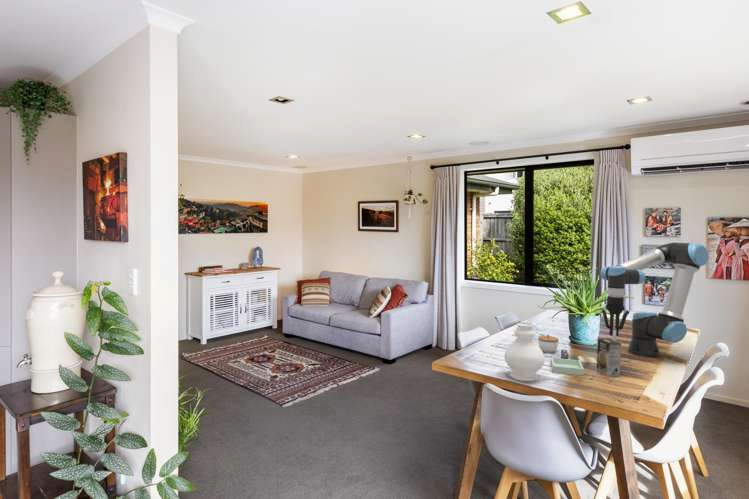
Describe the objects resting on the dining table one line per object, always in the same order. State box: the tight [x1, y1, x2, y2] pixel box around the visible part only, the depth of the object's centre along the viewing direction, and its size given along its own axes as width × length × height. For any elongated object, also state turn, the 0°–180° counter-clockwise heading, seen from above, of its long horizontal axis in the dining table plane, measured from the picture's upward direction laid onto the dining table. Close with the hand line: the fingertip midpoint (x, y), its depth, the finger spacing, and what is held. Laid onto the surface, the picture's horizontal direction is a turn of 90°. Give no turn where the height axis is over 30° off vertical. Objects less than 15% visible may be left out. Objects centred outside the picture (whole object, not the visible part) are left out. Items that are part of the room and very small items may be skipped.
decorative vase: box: [504, 322, 546, 382], centre depth 206 cm, size 18×18×25 cm
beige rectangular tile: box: [577, 355, 597, 368], centre depth 227 cm, size 8×10×2 cm
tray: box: [550, 357, 585, 376], centre depth 217 cm, size 14×15×3 cm
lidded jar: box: [537, 334, 559, 354], centre depth 248 cm, size 11×11×9 cm
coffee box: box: [596, 337, 622, 377], centre depth 211 cm, size 9×6×16 cm
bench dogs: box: [560, 349, 570, 359], centre depth 230 cm, size 3×9×5 cm, turn 162°
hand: (613, 342), depth 223 cm, fingers closed
